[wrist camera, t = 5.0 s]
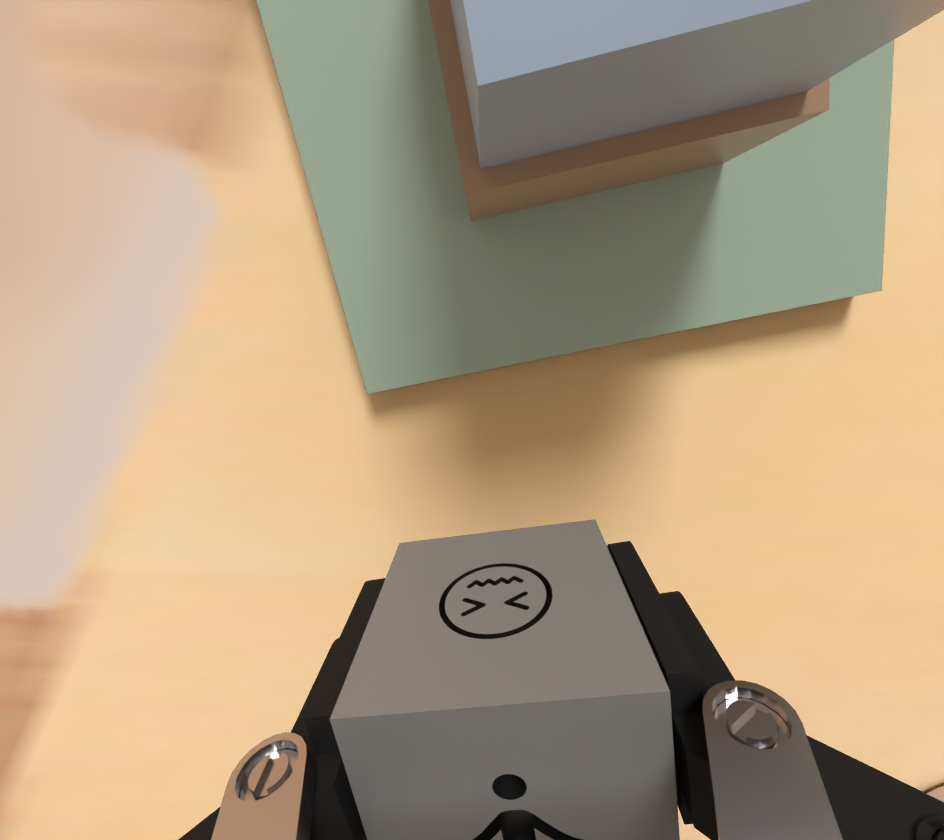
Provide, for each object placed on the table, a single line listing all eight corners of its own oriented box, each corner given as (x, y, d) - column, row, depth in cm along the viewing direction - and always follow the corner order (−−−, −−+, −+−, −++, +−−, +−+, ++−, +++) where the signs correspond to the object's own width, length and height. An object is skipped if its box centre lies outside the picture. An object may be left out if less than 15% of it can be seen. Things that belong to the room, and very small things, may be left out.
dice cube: (435, 696, 13) (397, 937, 8) (399, 542, 12) (329, 719, 7) (612, 681, 12) (685, 927, 8) (595, 519, 11) (670, 690, 6)
